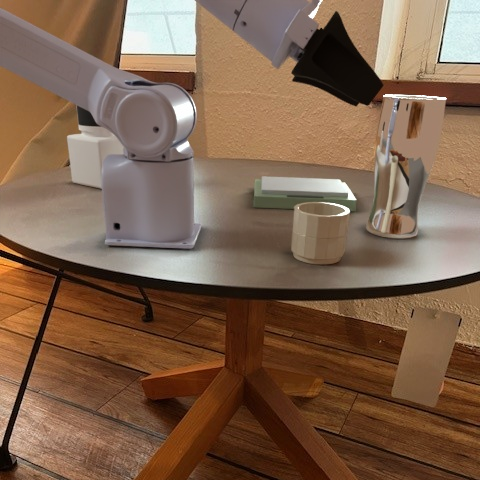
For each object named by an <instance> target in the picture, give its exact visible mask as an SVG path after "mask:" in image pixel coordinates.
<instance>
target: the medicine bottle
mask: <svg viewBox="0 0 480 480" xmlns="http://www.w3.org/2000/svg"><path fill="white" fill-rule="evenodd" d="M76 115H77V124H78V125H77V126H78V131H80V132H81V133H75V134H68V135H67V136H66V141H67V149H68V150H67V151H68V158H69V166H70V175H71V181H72V183H73V184H77V185H82V186H86V187H90V188H95V189H99V190H102V185H101V175H102V165H103V161H104V159H105V157H106V156H107V155H110V154H124V151H123V148H124V146H123V145H122V144H121V143H120V141H119V140H118V139H117V137H116V136H115V135H114V134H113V133H111V132H110V131H109V130H107V129H105V128H104V127H102V126H100V125H98V124H97V123H96V122H95V120H94V118H93V116H92V114H91V113H90V112H89V111H87V110H85V109H83V108H82V107H80V106H78V105H76Z"/></svg>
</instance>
